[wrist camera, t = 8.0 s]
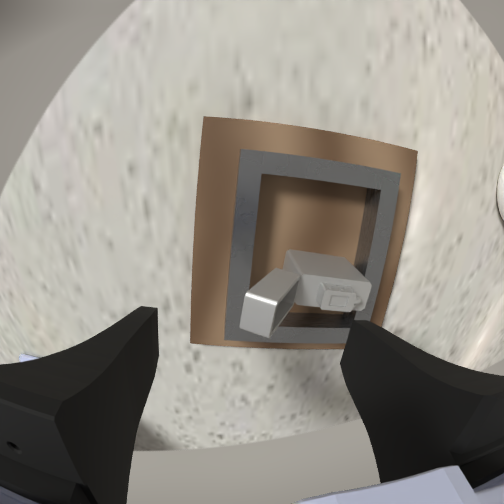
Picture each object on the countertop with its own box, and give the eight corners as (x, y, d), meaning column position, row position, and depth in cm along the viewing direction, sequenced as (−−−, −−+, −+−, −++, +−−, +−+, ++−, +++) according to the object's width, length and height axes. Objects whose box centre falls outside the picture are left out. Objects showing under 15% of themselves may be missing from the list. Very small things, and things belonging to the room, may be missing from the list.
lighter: (346, 257, 21) (404, 314, 13) (340, 281, 21) (391, 346, 13) (239, 242, 20) (245, 299, 12) (235, 268, 20) (239, 337, 13)
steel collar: (224, 324, 21) (224, 340, 20) (239, 149, 18) (241, 148, 16) (353, 328, 22) (363, 343, 20) (386, 170, 19) (400, 173, 17)
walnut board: (191, 335, 23) (190, 343, 22) (205, 118, 18) (203, 116, 17) (369, 341, 24) (374, 348, 23) (410, 150, 20) (417, 150, 19)
